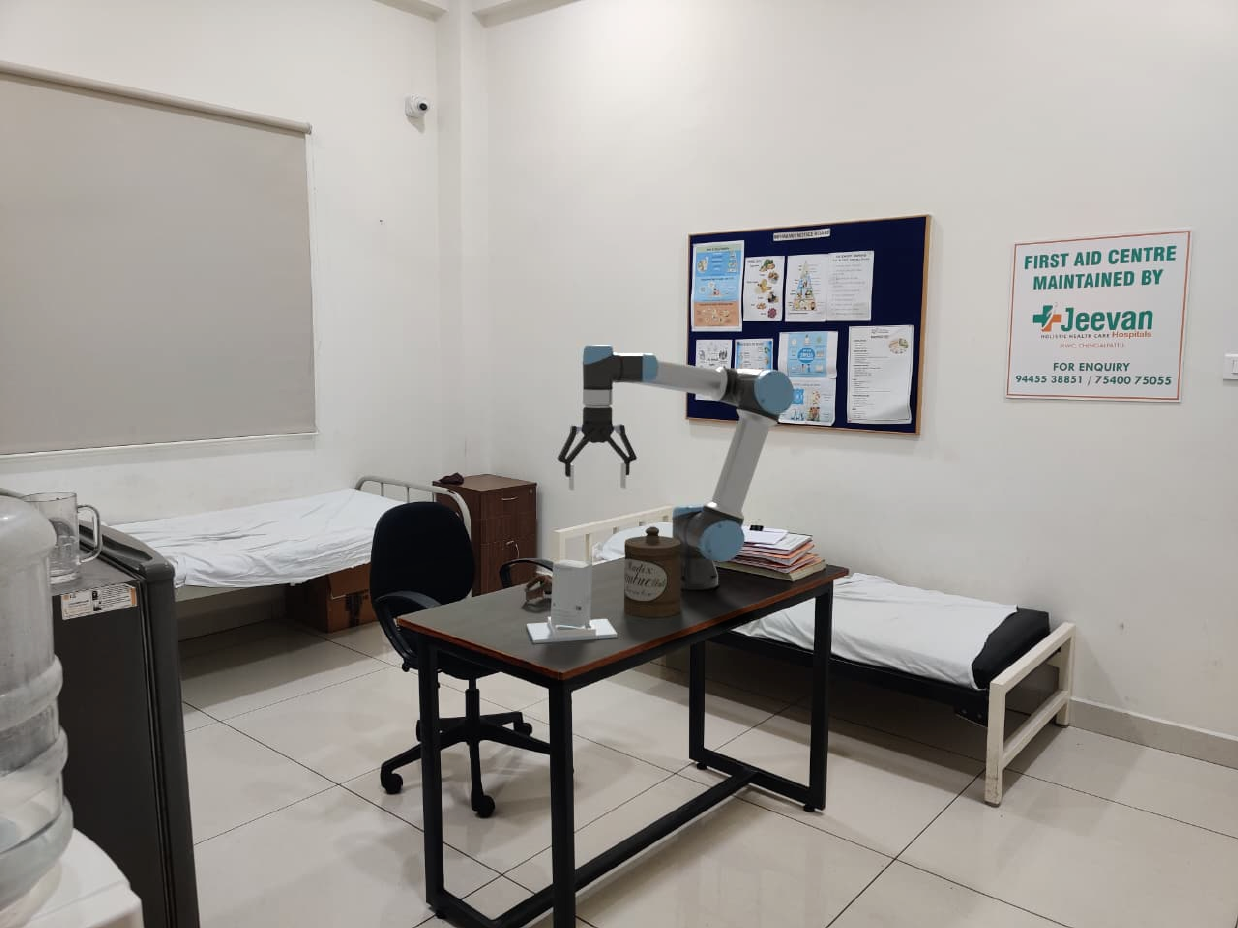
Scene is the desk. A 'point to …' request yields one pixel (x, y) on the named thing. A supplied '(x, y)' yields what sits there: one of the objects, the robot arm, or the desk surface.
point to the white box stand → (570, 631)
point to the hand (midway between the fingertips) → (597, 488)
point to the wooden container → (652, 575)
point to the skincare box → (571, 593)
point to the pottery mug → (544, 586)
